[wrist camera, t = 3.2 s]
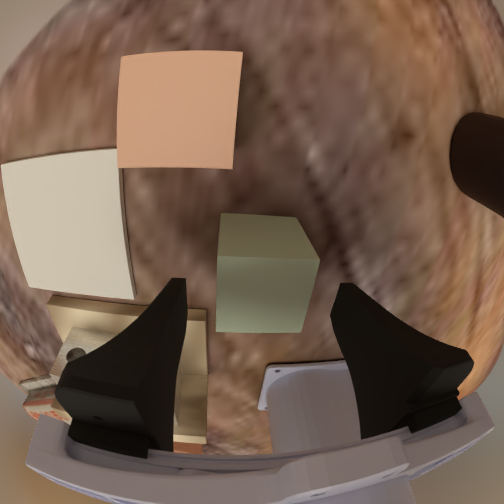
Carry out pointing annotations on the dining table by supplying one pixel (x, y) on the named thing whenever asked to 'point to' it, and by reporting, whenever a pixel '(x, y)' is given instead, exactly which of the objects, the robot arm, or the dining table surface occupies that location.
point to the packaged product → (40, 397)
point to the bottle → (480, 159)
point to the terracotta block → (178, 109)
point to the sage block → (263, 274)
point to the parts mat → (71, 222)
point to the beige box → (119, 318)
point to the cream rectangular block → (90, 340)
